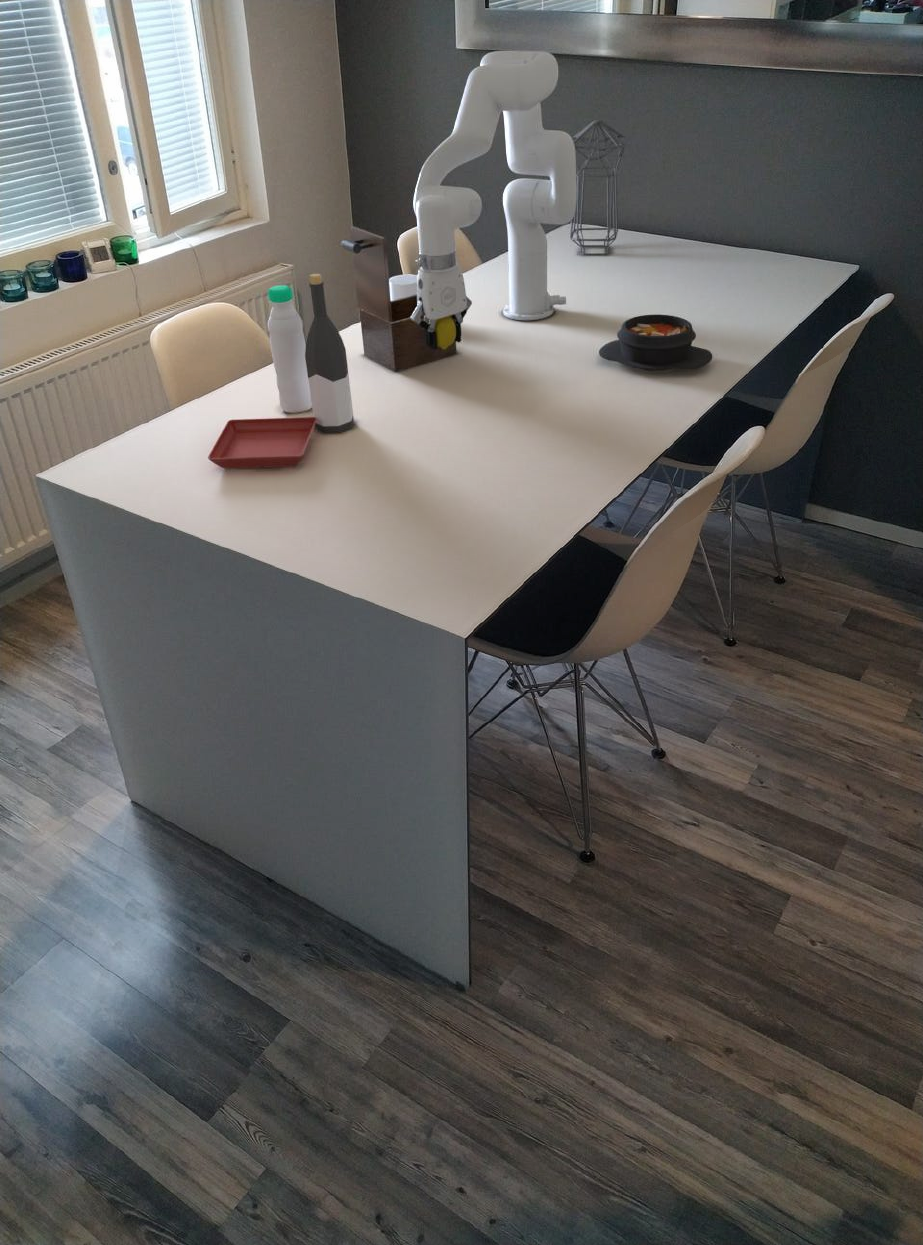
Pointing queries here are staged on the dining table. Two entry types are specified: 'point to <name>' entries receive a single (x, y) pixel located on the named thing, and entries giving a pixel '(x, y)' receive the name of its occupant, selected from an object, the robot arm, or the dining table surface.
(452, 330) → the lemon
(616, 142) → the geometric lantern
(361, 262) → the lid
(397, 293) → the mug
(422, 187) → the robot arm
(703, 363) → the casserole
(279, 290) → the water bottle
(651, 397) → the dining table surface
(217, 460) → the plant saucer
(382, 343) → the chest
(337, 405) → the wine bottle
